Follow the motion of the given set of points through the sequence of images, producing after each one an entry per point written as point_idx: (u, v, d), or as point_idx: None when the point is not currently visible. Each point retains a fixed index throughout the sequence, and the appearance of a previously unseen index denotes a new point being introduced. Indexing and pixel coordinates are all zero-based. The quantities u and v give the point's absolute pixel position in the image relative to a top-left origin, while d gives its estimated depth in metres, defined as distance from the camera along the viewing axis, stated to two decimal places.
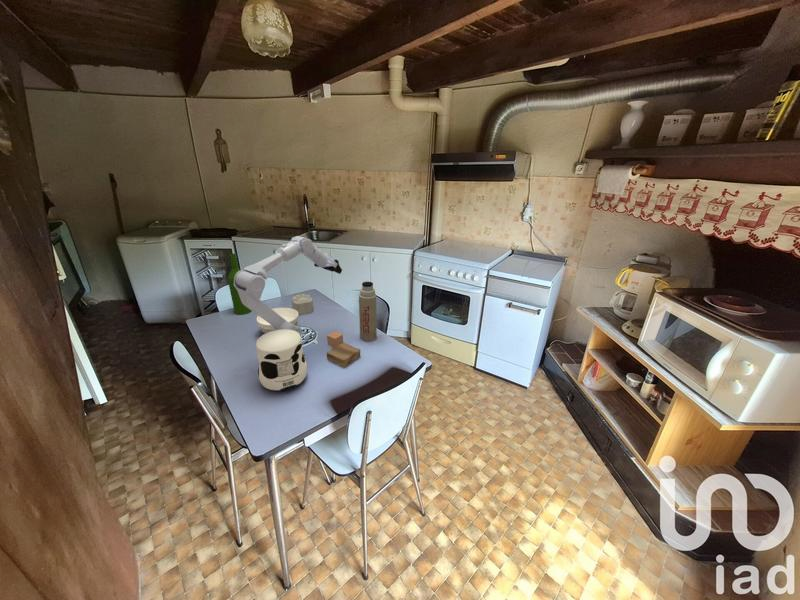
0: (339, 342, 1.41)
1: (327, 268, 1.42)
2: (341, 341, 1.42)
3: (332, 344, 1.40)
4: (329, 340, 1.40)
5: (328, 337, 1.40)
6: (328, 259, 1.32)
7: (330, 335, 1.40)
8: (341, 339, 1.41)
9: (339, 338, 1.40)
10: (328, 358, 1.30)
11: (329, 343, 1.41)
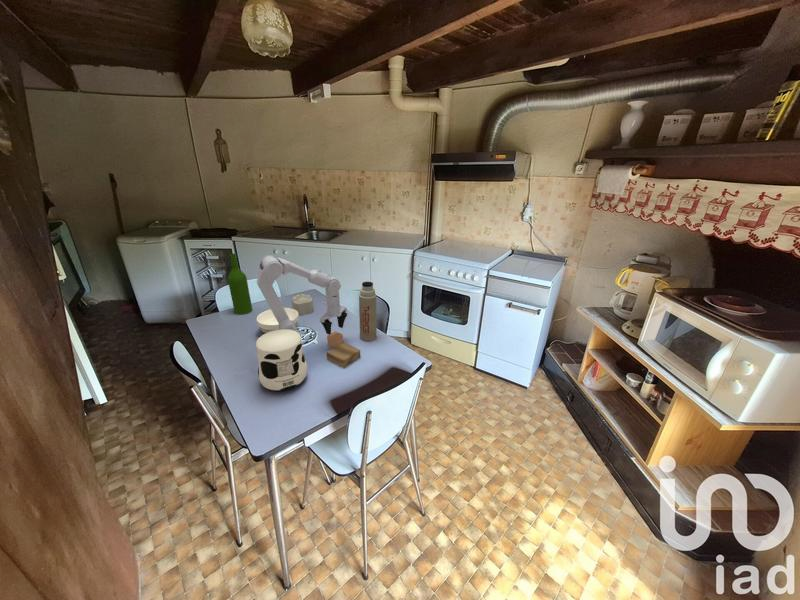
0: (339, 342, 1.41)
1: (339, 325, 1.42)
2: (341, 341, 1.42)
3: (332, 344, 1.40)
4: (329, 340, 1.40)
5: (328, 337, 1.40)
6: (330, 315, 1.33)
7: (330, 335, 1.40)
8: (341, 339, 1.41)
9: (339, 338, 1.40)
10: (328, 358, 1.30)
11: (329, 343, 1.41)
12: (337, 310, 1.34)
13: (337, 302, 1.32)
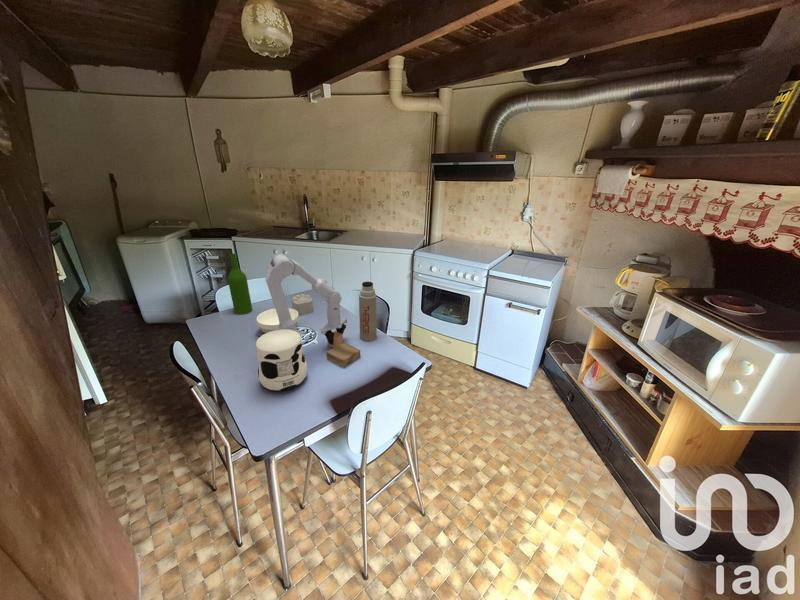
0: (339, 342, 1.41)
1: None
2: (341, 341, 1.42)
3: None
4: None
5: None
6: (331, 327, 1.36)
7: None
8: (341, 339, 1.41)
9: (339, 338, 1.40)
10: (328, 358, 1.30)
11: None
12: (338, 322, 1.36)
13: (338, 314, 1.35)
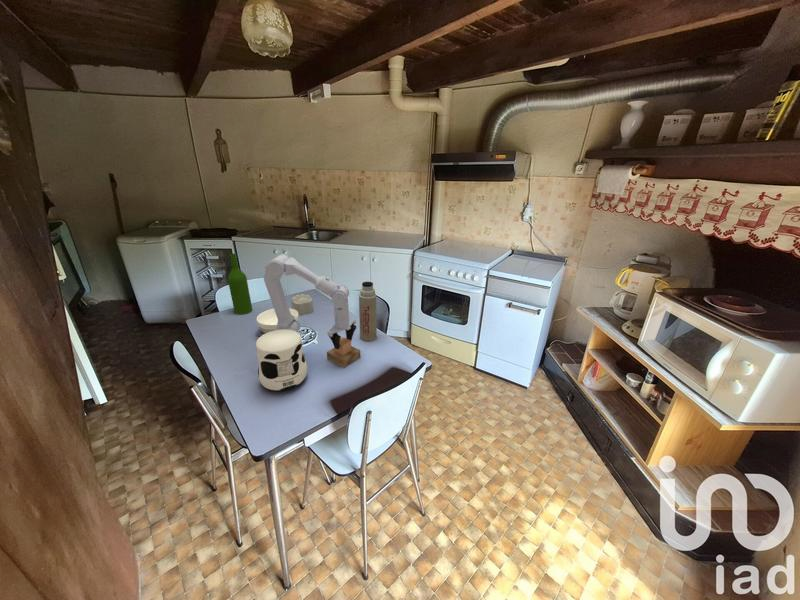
0: (347, 349, 1.29)
1: (347, 338, 1.32)
2: (349, 348, 1.30)
3: (339, 351, 1.28)
4: None
5: None
6: (339, 329, 1.23)
7: None
8: (349, 345, 1.30)
9: (347, 344, 1.28)
10: (328, 358, 1.31)
11: (336, 350, 1.29)
12: (346, 323, 1.24)
13: (343, 316, 1.21)
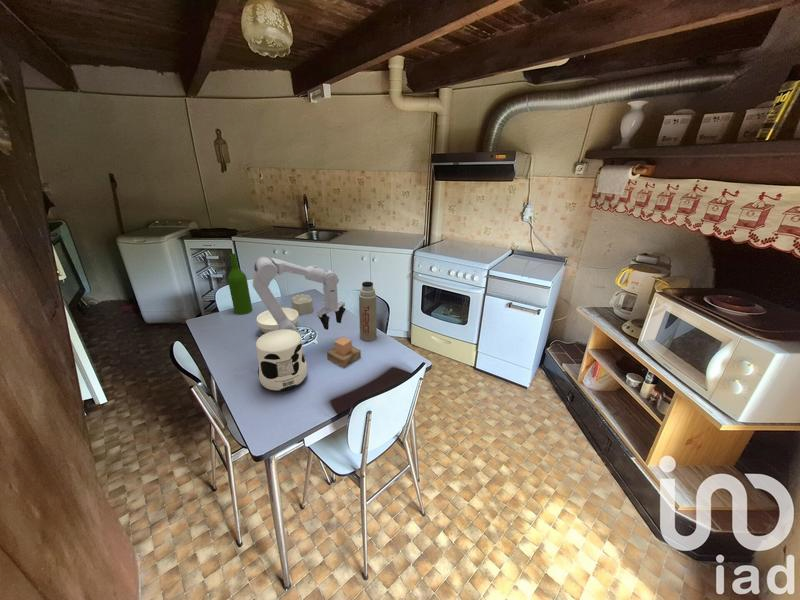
0: (347, 349, 1.29)
1: (337, 320, 1.41)
2: (349, 348, 1.30)
3: (340, 351, 1.28)
4: (337, 347, 1.28)
5: (335, 343, 1.28)
6: (328, 310, 1.32)
7: (338, 341, 1.28)
8: (349, 345, 1.30)
9: (348, 344, 1.28)
10: (328, 358, 1.31)
11: (336, 350, 1.29)
12: (335, 305, 1.32)
13: (335, 297, 1.31)
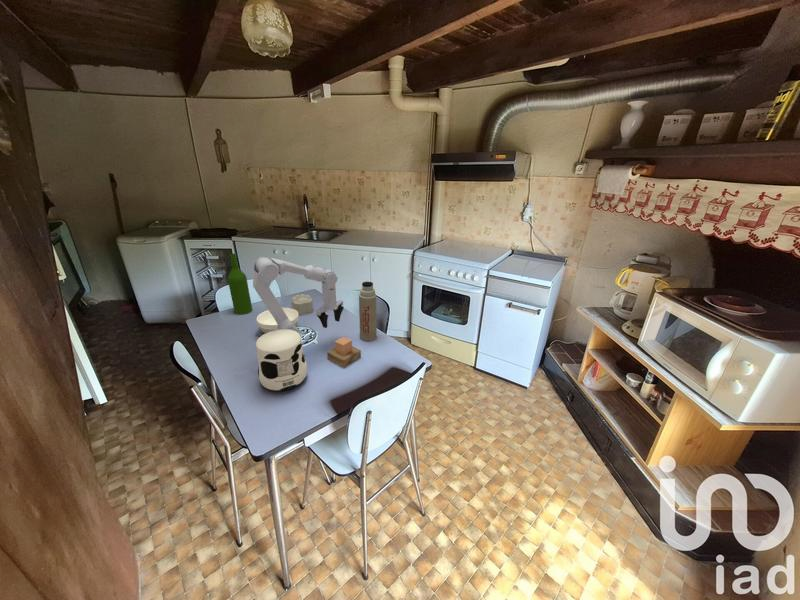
0: (348, 349, 1.29)
1: (335, 318, 1.42)
2: (350, 348, 1.30)
3: (340, 351, 1.28)
4: (337, 347, 1.29)
5: (336, 343, 1.28)
6: (327, 308, 1.33)
7: (338, 341, 1.29)
8: (350, 345, 1.30)
9: (348, 344, 1.28)
10: (328, 358, 1.31)
11: (337, 350, 1.29)
12: (333, 303, 1.34)
13: (334, 295, 1.32)
